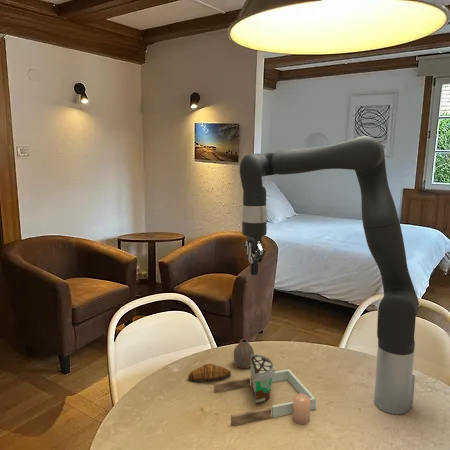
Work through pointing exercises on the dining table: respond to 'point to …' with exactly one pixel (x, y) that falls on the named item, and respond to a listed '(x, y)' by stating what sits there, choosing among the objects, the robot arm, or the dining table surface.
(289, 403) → the bay
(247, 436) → the dining table surface
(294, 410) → the tan rounded piece
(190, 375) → the croissant
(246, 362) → the vase
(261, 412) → the brown flat strips
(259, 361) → the food container
